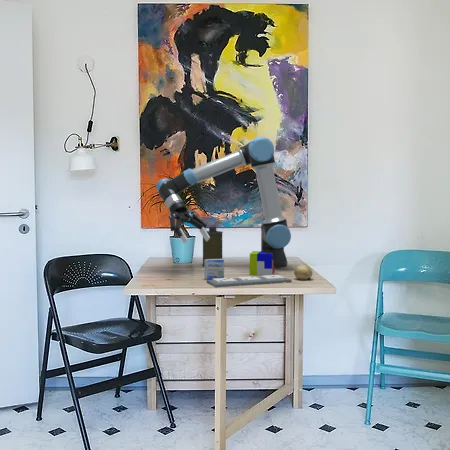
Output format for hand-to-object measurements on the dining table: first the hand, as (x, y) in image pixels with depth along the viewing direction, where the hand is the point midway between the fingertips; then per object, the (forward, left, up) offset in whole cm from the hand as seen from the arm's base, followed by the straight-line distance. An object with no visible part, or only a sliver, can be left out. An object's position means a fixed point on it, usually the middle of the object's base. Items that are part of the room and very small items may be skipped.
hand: (197, 240), depth 255 cm
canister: (-17, -29, -16) cm, 38 cm away
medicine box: (-5, +10, -16) cm, 20 cm away
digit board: (-16, +24, -16) cm, 33 cm away
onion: (-41, +25, -17) cm, 51 cm away
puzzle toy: (-30, +5, -17) cm, 34 cm away
